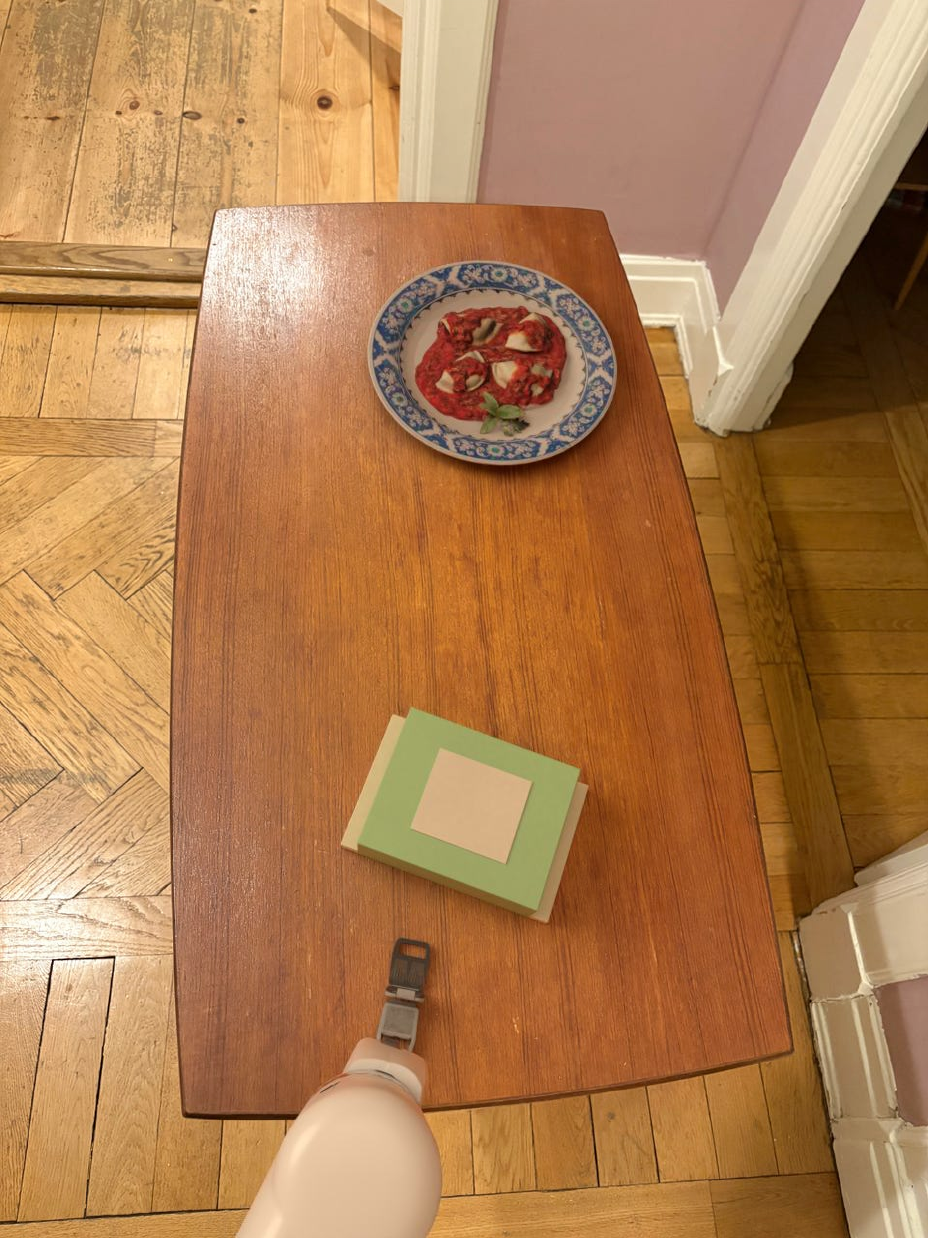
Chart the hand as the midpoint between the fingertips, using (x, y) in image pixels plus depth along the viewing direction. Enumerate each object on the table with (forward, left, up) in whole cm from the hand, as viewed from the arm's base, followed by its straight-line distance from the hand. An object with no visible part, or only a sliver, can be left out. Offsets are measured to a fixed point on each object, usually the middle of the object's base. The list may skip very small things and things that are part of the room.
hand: (363, 1112), depth 68 cm
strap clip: (+8, 0, -3) cm, 9 cm away
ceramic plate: (+68, +13, -3) cm, 70 cm away
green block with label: (+23, 0, -3) cm, 24 cm away
